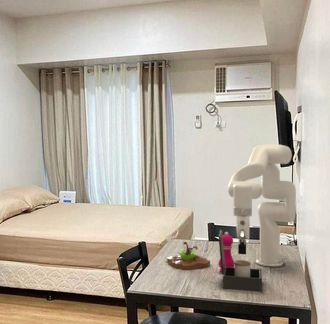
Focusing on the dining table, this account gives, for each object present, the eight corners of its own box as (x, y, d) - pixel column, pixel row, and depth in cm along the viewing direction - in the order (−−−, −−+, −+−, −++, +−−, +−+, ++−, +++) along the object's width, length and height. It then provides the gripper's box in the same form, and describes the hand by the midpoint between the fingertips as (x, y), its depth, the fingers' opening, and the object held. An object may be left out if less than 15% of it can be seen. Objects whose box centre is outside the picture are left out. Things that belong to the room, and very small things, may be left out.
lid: (222, 229, 217) (220, 229, 217) (220, 236, 203) (218, 236, 203) (225, 265, 217) (223, 265, 218) (223, 274, 204) (221, 274, 204)
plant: (193, 257, 259) (193, 236, 258) (215, 266, 241) (215, 244, 240) (160, 261, 252) (160, 240, 251) (181, 271, 233) (181, 248, 233)
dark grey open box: (261, 283, 213) (261, 269, 213) (261, 293, 199) (262, 278, 199) (224, 280, 218) (224, 266, 218) (222, 290, 204) (222, 275, 204)
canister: (245, 282, 212) (245, 259, 212) (253, 286, 206) (253, 263, 205) (231, 283, 211) (231, 260, 211) (239, 287, 205) (239, 264, 204)
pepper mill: (232, 276, 224) (232, 233, 223) (216, 274, 228) (216, 232, 226) (236, 272, 230) (236, 231, 229) (221, 270, 234) (221, 229, 233)
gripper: (252, 215, 197) (251, 256, 198) (251, 209, 214) (251, 247, 214) (232, 214, 200) (232, 255, 200) (234, 208, 216) (233, 246, 217)
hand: (242, 251), depth 207 cm, fingers open, 9 cm apart
